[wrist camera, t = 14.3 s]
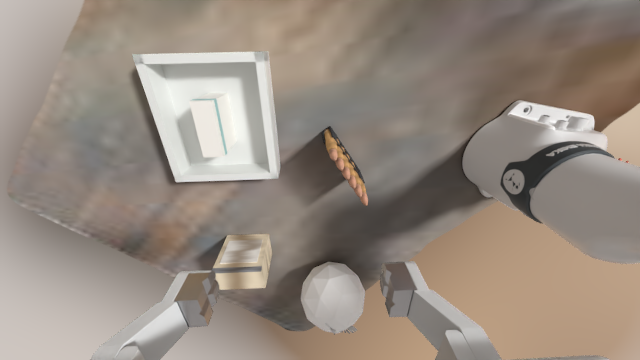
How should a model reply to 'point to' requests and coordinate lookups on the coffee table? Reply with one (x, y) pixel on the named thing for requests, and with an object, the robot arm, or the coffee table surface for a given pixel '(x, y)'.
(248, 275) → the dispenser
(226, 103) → the teal-striped white carton
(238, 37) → the coffee table surface
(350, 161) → the ammunition clip
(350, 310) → the geodesic sphere
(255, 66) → the tray
